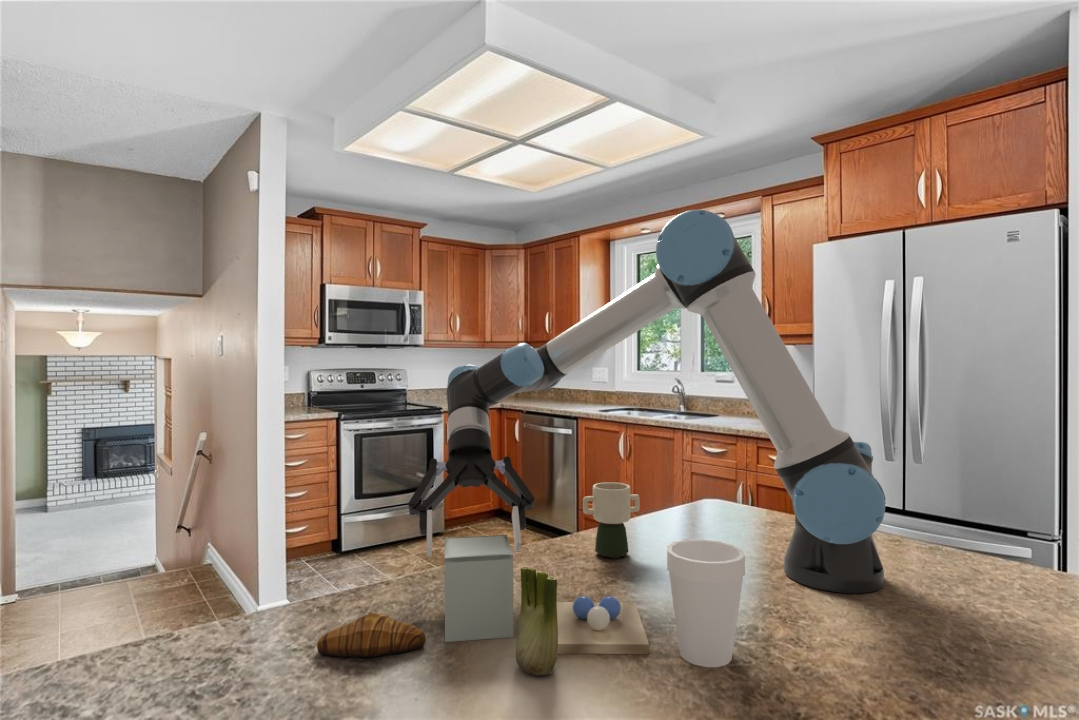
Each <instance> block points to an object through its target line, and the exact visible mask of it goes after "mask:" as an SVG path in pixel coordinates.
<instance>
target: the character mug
mask: <svg viewBox="0 0 1079 720" xmlns="http://www.w3.org/2000/svg"><path fill="white" fill-rule="evenodd" d="M631 490H632V489H631V485H630V484H626V483H622V482H616V481H615V482H611V481H610V482H609V481H608V482H607V481H606V482H605V481H604V482H599V483H595V484H593V485H592V495H587V496H584V497H583V499H582V512H583V514H585V515H592V516H593V519H594V521H596V522H599V523H598V526H597V530H596V538H595V548H594V551H595V552H596V553H597V554H598V555H601V556H604V557H609V558H621V557H624V556H626V555H627V554H628V553H629V544H628V536H627V528H626V526H625V523H626V522H629V521H630V519H631V515H632V513H636V512H637V513H638V512H639V511H640V508H641V507H640V495H639V494H637V493H636V494H634V493H633V494H631V493H632V491H631ZM632 500H634V506H632V505H631V503H632V502H631V501H632ZM589 502H592V508H589Z"/></svg>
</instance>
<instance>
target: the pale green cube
mask: <svg viewBox="0 0 1079 720" xmlns="http://www.w3.org/2000/svg"><path fill="white" fill-rule="evenodd" d="M503 638H504V639H505V638H506V639H507V638H514V553H513V551H512V547H511V545H510V542H509V539H508V536H507V534H500V535H499V534H498V535H497V534H496V535H494V534H493V535H477V536H456V537H444V643H452V642H463V641H465V642H466V641H467V642H468V641H478V640H490V639H491V640H492V639H503Z"/></svg>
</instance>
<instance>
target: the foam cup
mask: <svg viewBox="0 0 1079 720" xmlns="http://www.w3.org/2000/svg"><path fill="white" fill-rule="evenodd" d="M666 559H667V560H666V567H667V568H666V570H667V572H668V573H669V581H670V590H671V597H672V605H673V612H674V619H675V627H676V634H677V642H678V650H679V656H680V657H682V658H683V660H685V661H686V662H688V663H690V664H692V665H695V666H699V667H704V668H721V667H724V666H726V665H729V663H730V662H731V661H732V660H733V657H732V656H733V654H734V647H735V646H734V645H735V639H736V632H737V631H736V630H737V624H738V618H739V617H738V616H739V608H740V602H741V593H742V588H743V581H744V577H745V575H746V555H745V552H744V550H743V549H741V548H739V547H738V546H736V545H734V544H731V543H727V542H723V541H720V540H718V541H717V540H710V539H703V538H702V539H683V540H678V541H673V542H670V543H669V544H668V545H666Z"/></svg>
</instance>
